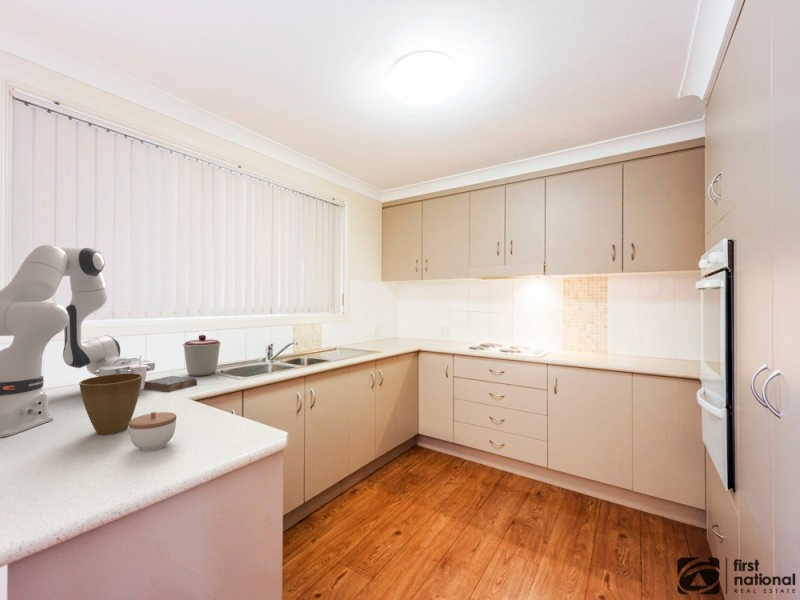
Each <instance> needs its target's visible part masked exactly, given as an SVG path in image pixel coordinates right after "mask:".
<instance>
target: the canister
mask: <svg viewBox="0 0 800 600" xmlns="http://www.w3.org/2000/svg"><path fill="white" fill-rule="evenodd" d="M206 338H207V336H206V335H205V334H199V335H198V339H192V340H188V341H185V342H184V343H183V344H182V346H183V353H184V358H185V367H186V371H187V374H188V375H189V376H193V377H203V376H209V375H210V376H211V375H212V374H213V375H214V373H215V372H216V371H217V368H218V364H219V362H218V361H219V357H220V355H219V354H220V346H221V344H222V342H221V341H219V340H217V339H208V338H207V339H206Z"/></svg>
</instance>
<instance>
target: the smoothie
mask: <svg viewBox="0 0 800 600" xmlns="http://www.w3.org/2000/svg"><path fill="white" fill-rule="evenodd" d="M138 358H139V365H134V366H130V370H132V373H136V374H141V375H142V380H141V386H140V391H141V390H144V385H145V381H146V378H147V372H148V371H147V368H148V365H141V360H142V355H139V357H138Z"/></svg>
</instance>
